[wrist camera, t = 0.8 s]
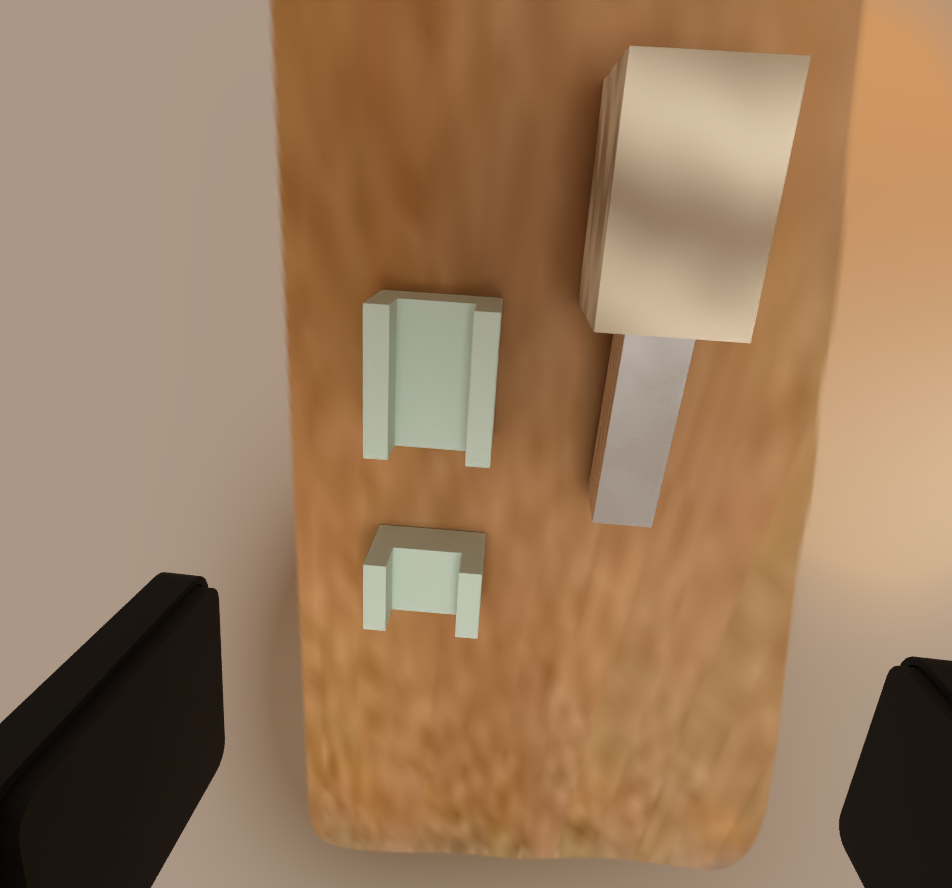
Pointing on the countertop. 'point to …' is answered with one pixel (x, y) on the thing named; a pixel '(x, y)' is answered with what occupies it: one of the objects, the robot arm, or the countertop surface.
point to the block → (687, 190)
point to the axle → (636, 426)
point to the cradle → (428, 440)
